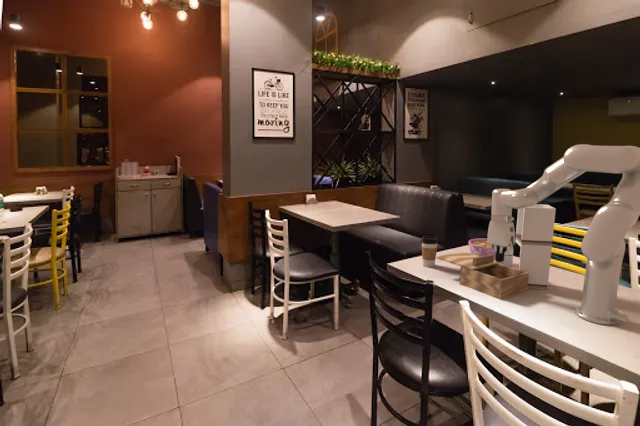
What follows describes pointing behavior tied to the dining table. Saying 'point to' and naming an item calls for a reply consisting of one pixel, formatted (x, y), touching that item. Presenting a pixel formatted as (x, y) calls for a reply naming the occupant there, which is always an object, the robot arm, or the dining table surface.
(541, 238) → the tall white box
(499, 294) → the wooden box
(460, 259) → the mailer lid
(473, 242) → the bowl of food
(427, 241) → the coffee cup
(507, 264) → the syrup box
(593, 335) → the dining table surface
